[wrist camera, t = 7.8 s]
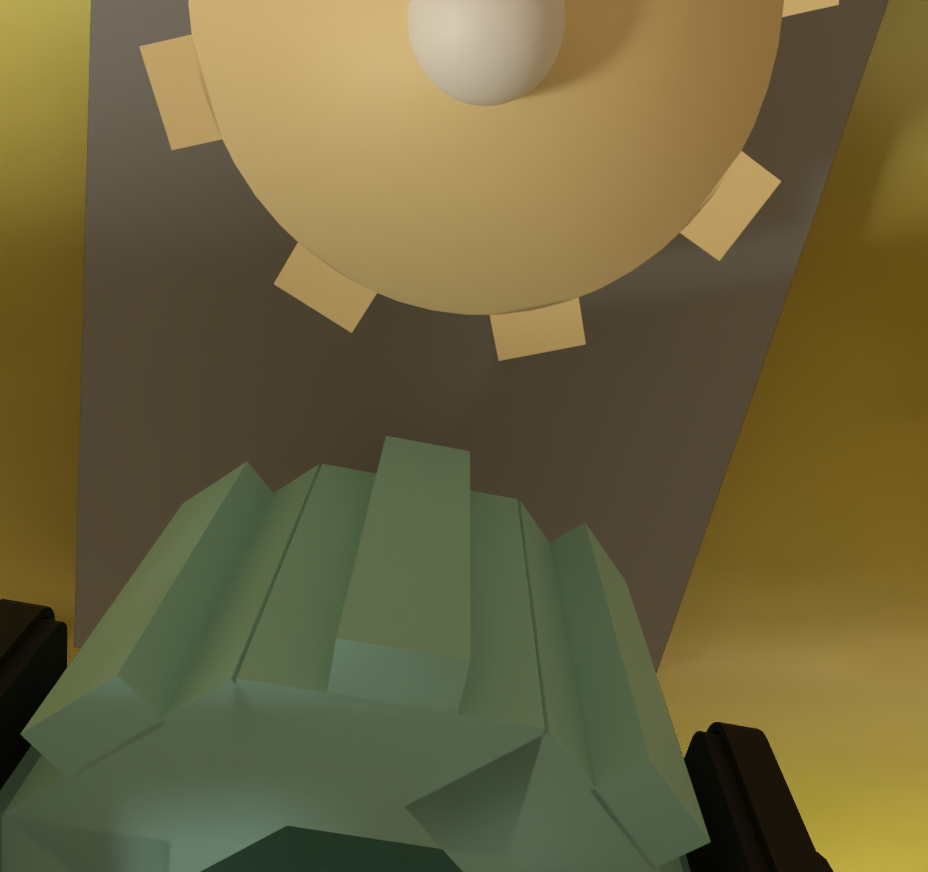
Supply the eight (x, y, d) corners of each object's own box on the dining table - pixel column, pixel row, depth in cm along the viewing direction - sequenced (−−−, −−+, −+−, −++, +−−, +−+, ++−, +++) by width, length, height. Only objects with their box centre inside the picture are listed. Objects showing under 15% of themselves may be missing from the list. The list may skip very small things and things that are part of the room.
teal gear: (572, 900, 14) (614, 1233, 10) (110, 831, 13) (-48, 1152, 9) (707, 495, 11) (845, 722, 7) (135, 389, 11) (-74, 569, 7)
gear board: (619, 678, 20) (701, 1005, 13) (111, 593, 19) (-99, 892, 12) (889, -152, 14) (1340, -409, 7) (153, -329, 13) (-233, -835, 6)
